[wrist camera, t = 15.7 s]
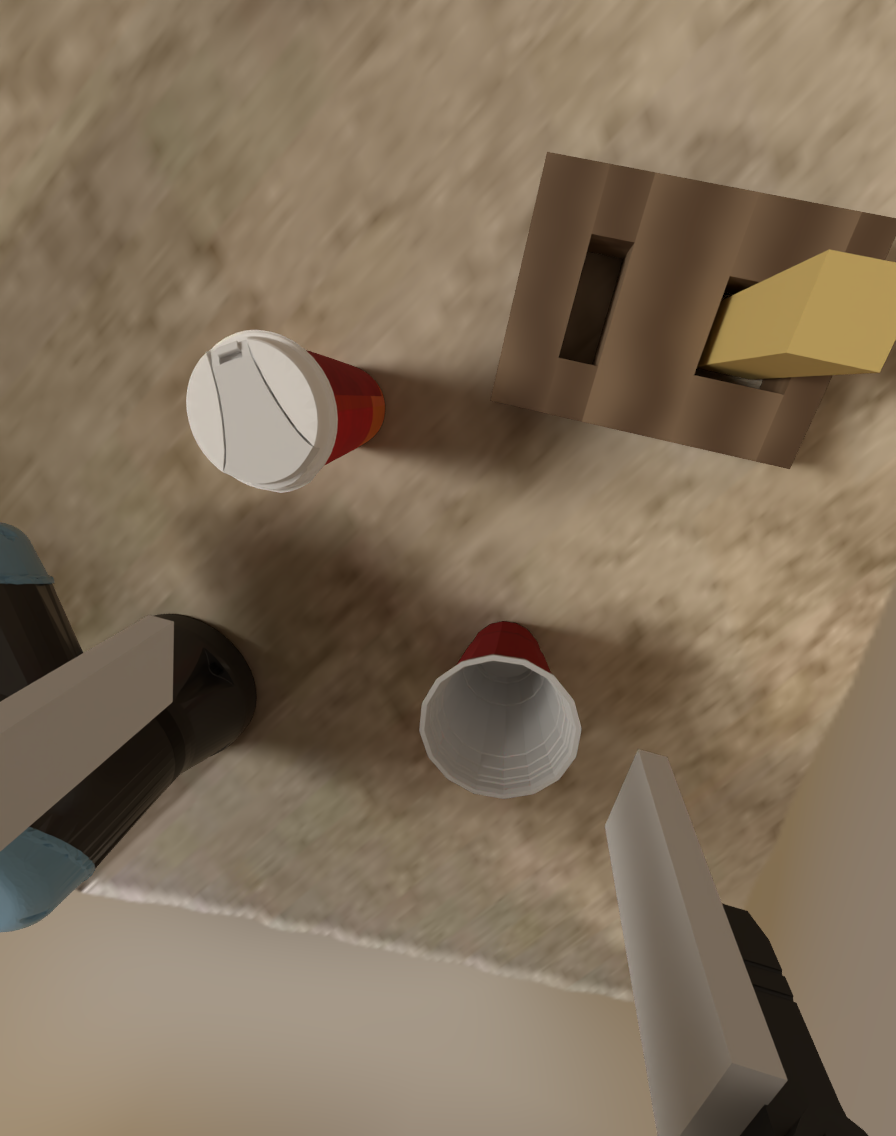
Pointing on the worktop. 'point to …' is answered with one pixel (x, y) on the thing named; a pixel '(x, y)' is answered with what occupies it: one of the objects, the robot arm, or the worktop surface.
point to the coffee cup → (278, 409)
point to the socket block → (665, 303)
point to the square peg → (808, 321)
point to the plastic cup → (500, 717)
